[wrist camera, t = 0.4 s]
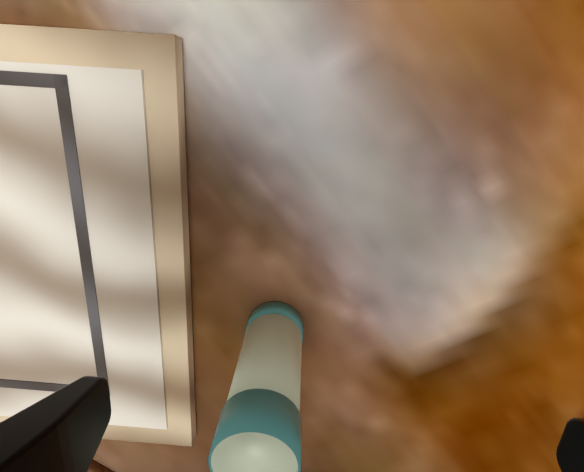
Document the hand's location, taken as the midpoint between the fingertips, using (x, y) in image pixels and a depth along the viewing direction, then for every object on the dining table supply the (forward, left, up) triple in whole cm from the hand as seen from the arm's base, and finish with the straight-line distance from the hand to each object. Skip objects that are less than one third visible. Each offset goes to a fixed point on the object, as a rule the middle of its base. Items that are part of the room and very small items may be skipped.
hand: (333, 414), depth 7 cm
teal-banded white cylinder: (-7, +2, -13) cm, 15 cm away
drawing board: (-4, +16, -13) cm, 21 cm away
